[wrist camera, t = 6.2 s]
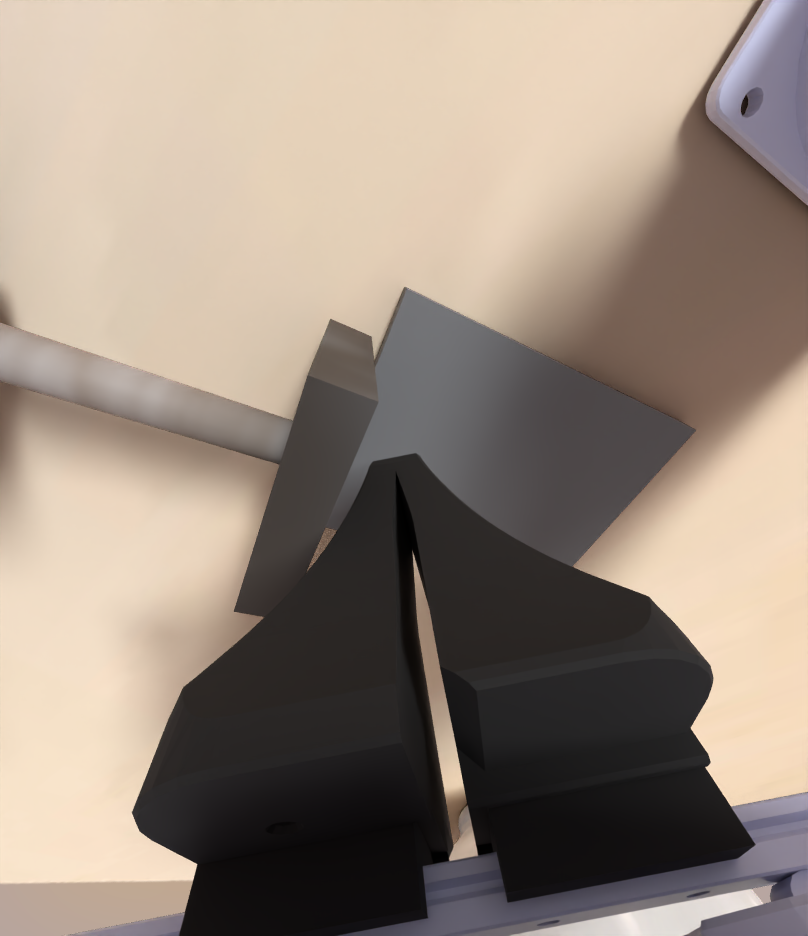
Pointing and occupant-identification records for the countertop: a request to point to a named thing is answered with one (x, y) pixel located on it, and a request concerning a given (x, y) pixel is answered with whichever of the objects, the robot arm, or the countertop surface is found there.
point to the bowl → (634, 932)
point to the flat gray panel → (509, 430)
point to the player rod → (233, 434)
